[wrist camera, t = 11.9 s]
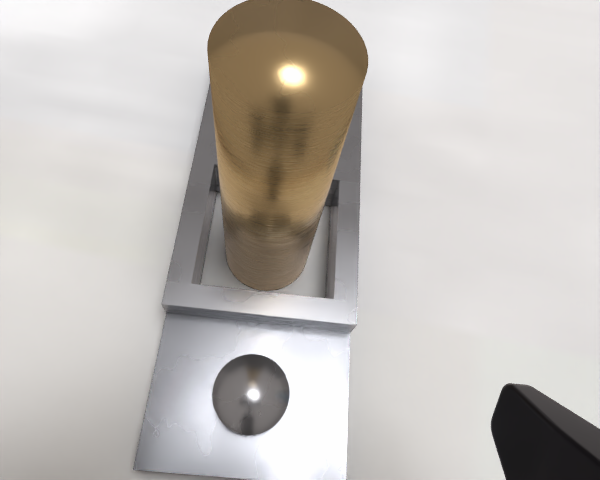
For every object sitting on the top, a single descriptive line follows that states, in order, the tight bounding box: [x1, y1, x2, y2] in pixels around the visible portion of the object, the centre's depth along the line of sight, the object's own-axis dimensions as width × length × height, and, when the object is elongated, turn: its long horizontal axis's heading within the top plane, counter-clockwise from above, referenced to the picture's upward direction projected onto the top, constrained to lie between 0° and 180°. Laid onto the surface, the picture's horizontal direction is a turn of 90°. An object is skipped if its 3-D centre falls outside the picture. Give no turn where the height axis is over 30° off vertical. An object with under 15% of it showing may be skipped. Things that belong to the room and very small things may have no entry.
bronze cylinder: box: [207, 0, 368, 291], centre depth 17 cm, size 4×4×12 cm
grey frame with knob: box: [133, 84, 362, 480], centre depth 22 cm, size 22×8×3 cm, turn 176°
